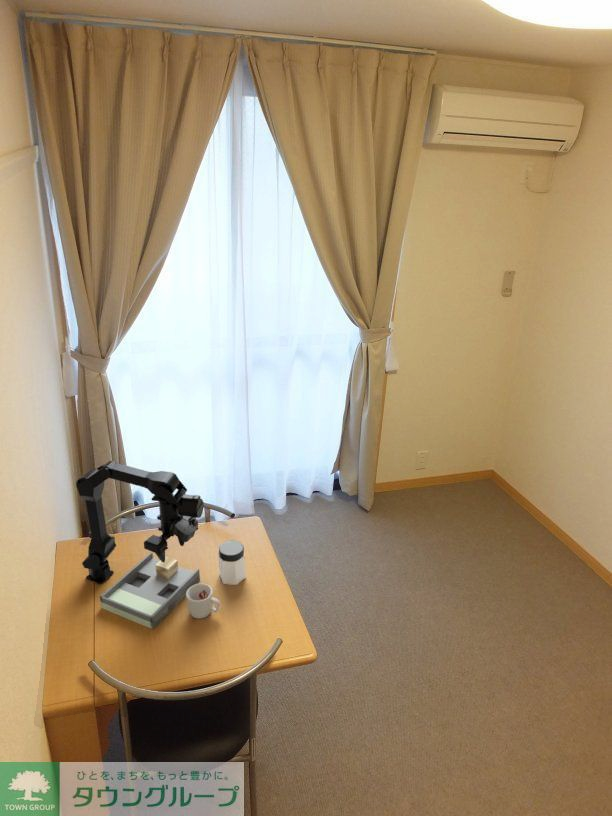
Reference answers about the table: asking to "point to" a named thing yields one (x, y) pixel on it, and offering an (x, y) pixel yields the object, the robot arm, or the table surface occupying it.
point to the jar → (231, 562)
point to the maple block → (167, 567)
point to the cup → (201, 600)
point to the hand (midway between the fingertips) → (172, 553)
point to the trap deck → (147, 592)
